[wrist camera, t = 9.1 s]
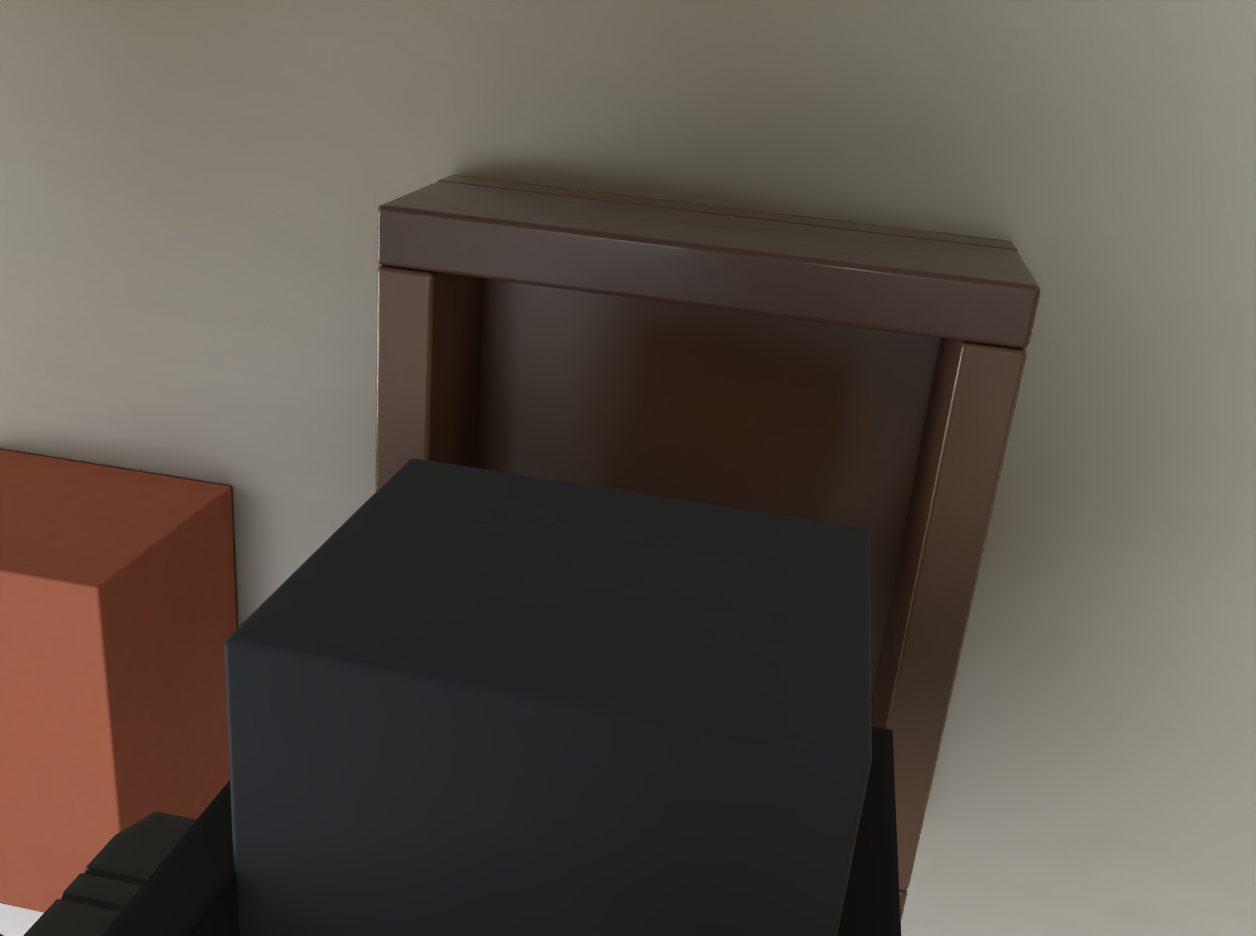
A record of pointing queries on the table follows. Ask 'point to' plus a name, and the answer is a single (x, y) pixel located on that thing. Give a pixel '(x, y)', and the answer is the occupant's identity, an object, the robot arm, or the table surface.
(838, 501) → the frame
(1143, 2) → the table surface
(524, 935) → the dark gray rectangular block
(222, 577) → the reddish brown rectangular block
